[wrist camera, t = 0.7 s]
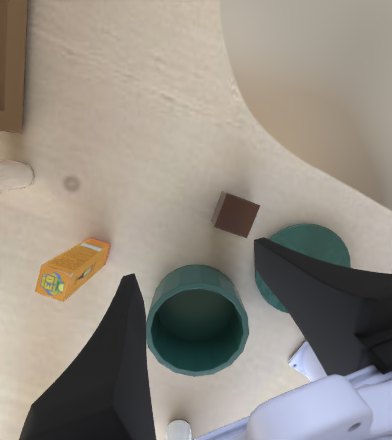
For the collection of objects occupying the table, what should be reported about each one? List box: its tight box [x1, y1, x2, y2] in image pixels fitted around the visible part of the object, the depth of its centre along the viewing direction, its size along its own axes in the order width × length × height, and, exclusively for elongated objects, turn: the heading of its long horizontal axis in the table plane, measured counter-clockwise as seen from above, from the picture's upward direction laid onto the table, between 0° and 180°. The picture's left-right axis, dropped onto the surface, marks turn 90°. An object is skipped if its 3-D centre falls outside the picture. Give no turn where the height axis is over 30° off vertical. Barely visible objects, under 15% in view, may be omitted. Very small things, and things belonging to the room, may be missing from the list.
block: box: [211, 191, 260, 238], centre depth 29 cm, size 4×4×4 cm
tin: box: [146, 265, 249, 377], centre depth 31 cm, size 12×12×6 cm
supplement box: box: [35, 238, 111, 301], centre depth 27 cm, size 3×3×10 cm
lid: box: [255, 224, 351, 313], centre depth 30 cm, size 13×13×5 cm
